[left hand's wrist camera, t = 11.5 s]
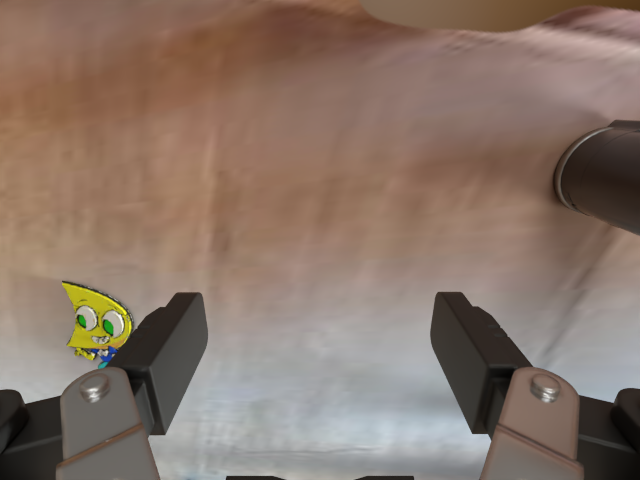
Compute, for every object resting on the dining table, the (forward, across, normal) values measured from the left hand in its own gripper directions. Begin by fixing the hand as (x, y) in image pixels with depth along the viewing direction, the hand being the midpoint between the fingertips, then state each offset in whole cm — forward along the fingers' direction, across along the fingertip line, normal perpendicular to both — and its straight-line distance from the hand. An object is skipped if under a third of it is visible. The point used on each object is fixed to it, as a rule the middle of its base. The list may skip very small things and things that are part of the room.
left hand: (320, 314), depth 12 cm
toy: (+28, -29, -22) cm, 46 cm away
